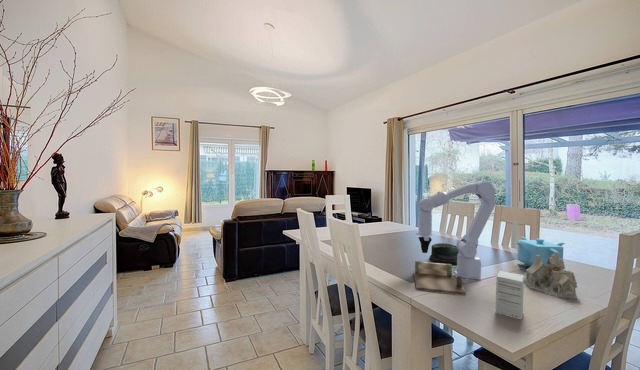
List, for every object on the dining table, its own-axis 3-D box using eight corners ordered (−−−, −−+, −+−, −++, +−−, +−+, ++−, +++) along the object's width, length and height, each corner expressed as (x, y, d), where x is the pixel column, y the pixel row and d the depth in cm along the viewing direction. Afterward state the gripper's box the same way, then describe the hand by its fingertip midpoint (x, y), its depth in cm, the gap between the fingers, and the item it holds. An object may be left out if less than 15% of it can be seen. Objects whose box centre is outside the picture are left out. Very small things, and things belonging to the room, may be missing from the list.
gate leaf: (451, 275, 127) (451, 264, 127) (452, 276, 125) (452, 265, 125) (414, 271, 131) (414, 261, 131) (415, 273, 129) (415, 262, 129)
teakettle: (560, 277, 129) (561, 245, 128) (511, 267, 143) (512, 238, 142) (564, 268, 142) (566, 239, 142) (519, 259, 156) (520, 233, 155)
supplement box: (497, 305, 101) (499, 270, 101) (523, 311, 97) (524, 275, 96) (494, 312, 96) (495, 276, 95) (521, 320, 91) (523, 281, 90)
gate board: (455, 276, 129) (455, 265, 129) (465, 295, 109) (466, 282, 109) (413, 272, 133) (413, 262, 133) (416, 289, 114) (416, 277, 114)
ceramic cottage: (521, 278, 127) (524, 246, 125) (568, 287, 119) (573, 252, 118) (528, 294, 113) (531, 257, 111) (582, 304, 106) (586, 266, 104)
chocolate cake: (449, 255, 164) (449, 239, 163) (474, 266, 144) (474, 248, 144) (418, 257, 160) (418, 240, 159) (439, 268, 140) (439, 250, 140)
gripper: (415, 221, 142) (414, 248, 142) (417, 226, 128) (416, 256, 128) (430, 221, 140) (429, 249, 140) (434, 227, 126) (433, 257, 126)
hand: (424, 252), depth 134 cm, fingers closed
